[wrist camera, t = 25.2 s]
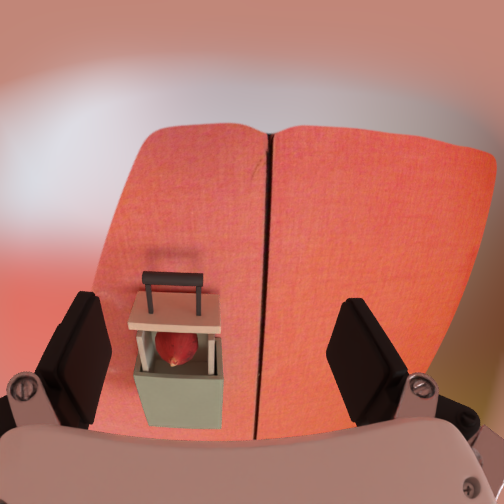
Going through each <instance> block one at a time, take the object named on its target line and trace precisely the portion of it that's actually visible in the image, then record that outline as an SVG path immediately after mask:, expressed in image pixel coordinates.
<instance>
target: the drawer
mask: <svg viewBox="0 0 504 504" xmlns="http://www.w3.org/2000/svg"><path fill="white" fill-rule="evenodd" d="M142 283H143V284H145V288H146V291H138V292H137V295H136V298H135V301H134V304H133V307H132V310H131V313H130V316H129V319H128V322H127V323H128V328H129V330H138V331H137V335H136V340H137V345H138V349H139V354H140V359H141V363H142V368H143V372H146V373H160V374H178V375H208V376H214V345H215V336H214V334H220V333H221V317H220V295H219V294H201V287H203V273H177V272H152V271H143V274H142ZM151 285H174V286H196V293H171V292H152V290H151ZM157 331H158V332H178V333H196V334H197V337H198V349H197V351H196V353H195V355H194V356H193V358H192V359H191V360H190V361H188V362H186V363H185V364H182V365H176V366H171V365H170V363H167V362H166V361H165V360H163V359H162V358H161V356H160V355H159V354H158V352H157V350H156V346H155V336H156V334H157Z"/></svg>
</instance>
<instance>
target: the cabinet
mask: <svg viewBox="0 0 504 504" xmlns="http://www.w3.org/2000/svg"><path fill="white" fill-rule="evenodd" d="M133 377H134V380H135V384H136V387H137V390H138V394H139V397H140V400H141V403H142V407H143V410H144V413H145V416H146V419H147V422H148V425H149V426H156V427H169V428H188V429H221V425H222V403H223V383H224V377H223V361H222V343H221V338H215V345H214V376H208V375H178V374H160V373H146V372H143V368H142V363H141V359H140V354H139V350H138V355H137V359H136V364H135V369H134V373H133Z"/></svg>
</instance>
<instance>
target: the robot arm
mask: <svg viewBox="0 0 504 504" xmlns="http://www.w3.org/2000/svg"><path fill="white" fill-rule="evenodd" d="M111 355H112V348H111V344H110V340H109V336H108V333H107V329H106V325H105V321H104V317H103V312H102V308H101V304H100V299H99V297H98V296H95V294H94V293H93V292H85V291H80V292H78V294H77V296H76V297H75V299H74V301H73V303H72V304H71V306H70V308H69V310H68V311H67V313H66V315H65V317H64V319H63V321H62V323H61V324H59V325H58V326H57V328H56V330H55V332H54V334H53V336H52V338H51V340H50V342H49V344H48V345H47V348H46V350H45V352H44V354H43V356H42V358H41V360H40V362H39V364H38V366H37V368H36V370H35V373H32V372H21V373H18V374H16V375H15V376H14V377H13V378H11V379H10V381H9V383H8V385H7V395H6V396H4V397H2V398H0V504H497V502H496V500H497V498H498V496H499V494H500V492H501V490H502V487H503V485H504V439H503V438H501V437H500V436H499V435H497V434H496V433H494V432H493V431H492V430H491V429H490V428H488V427H487V426H485V425H483V426H482V427H481V426H480V419H479V416H478V415H477V413H476V412H475V411H474V410H473V409H471V408H469V407H467V406H465V405H462V404H460V403H457V402H455V401H453V400H451V399H448V398H446V397H444V396H441V395H439V387H438V385H437V383H436V382H435V380H434V379H433V378H432V377H430V376H429V375H426V374H424V373H412V374H410V375H409V373H408V372H407V370H408V369H407V367H406V365H405V364H404V362H403V361H402V359H401V357H400V356H399V354H398V352H397V351H396V349H395V348H394V346H393V344H392V343H391V341H390V340H389V338H388V337H387V335H386V333H385V332H384V330H383V329H382V327H381V326H380V324H379V323H378V321H377V320H376V318H375V317H374V315H373V314H372V312H371V310H370V309H369V307H368V306H367V304H366V303H365V302H364V300H363V299H362V298H348V299H347V300H346V302H343V303H342V305H341V309H340V312H339V315H338V318H337V321H336V324H335V327H334V330H333V333H332V336H331V339H330V342H329V344H328V347H327V350H326V357H327V360H328V363H329V365H330V368H331V370H332V373H333V375H334V378H335V380H336V383H337V385H338V388H339V390H340V393H341V395H342V398H343V400H344V403H345V406H346V408H347V411H348V413H349V416H350V418H351V421H352V422H355V423H356V425H357V427H354V428H349V429H343V430H338V431H332V432H326V433H319V434H312V435H304V436H296V437H287V438H276V439H263V440H245V441H185V440H166V439H154V438H143V437H134V436H126V435H118V434H111V433H104V432H97V431H91V430H88V427H89V424H93V422H94V418H95V414H96V410H97V406H98V402H99V398H100V394H101V391H102V387H103V383H104V380H105V376H106V372H107V369H108V366H109V362H110V359H111Z"/></svg>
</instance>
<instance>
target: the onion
mask: <svg viewBox="0 0 504 504" xmlns="http://www.w3.org/2000/svg"><path fill="white" fill-rule="evenodd" d="M155 346H156V350H157V352H158V354H159V355H160V356H161V358H162V359H163V360H165V361H166V362H167V363H170V365H171V366H176V365H182V364H185V363H186V362H188V361H190V360H191V359H192V358H193V356H194V355H195V353H196V351H197V349H198V337H197V334H196V333H178V332H158V331H157V334H156V336H155Z"/></svg>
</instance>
